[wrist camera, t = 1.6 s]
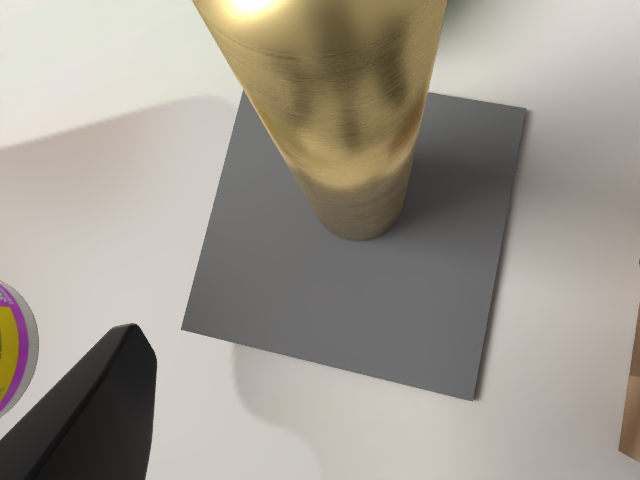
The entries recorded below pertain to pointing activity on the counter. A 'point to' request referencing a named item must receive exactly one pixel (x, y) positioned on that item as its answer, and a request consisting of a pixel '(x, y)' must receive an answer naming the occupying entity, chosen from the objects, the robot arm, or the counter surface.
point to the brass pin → (336, 95)
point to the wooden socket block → (632, 404)
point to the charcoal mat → (364, 255)
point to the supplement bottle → (16, 347)
